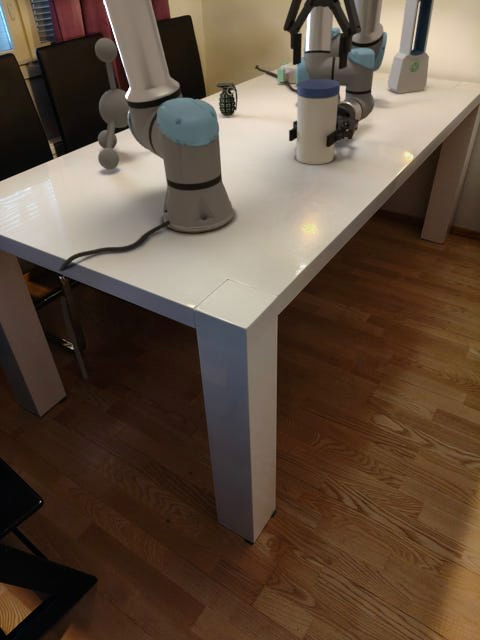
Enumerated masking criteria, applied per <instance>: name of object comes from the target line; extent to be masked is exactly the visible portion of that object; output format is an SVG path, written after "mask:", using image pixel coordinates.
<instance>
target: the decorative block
mask: <svg viewBox="0 0 480 640" xmlns="http://www.w3.org/2000/svg"><path fill="white" fill-rule="evenodd" d="M296 70H297V65H293V61H292V62H287V61H286V62H282V65H281V66H279V68H277V71H276V72H277V73H276V74H277V77H276V78H277V80H276V81H277V82H279V83H284V82H285V81H287V82H288V83H289V84H296V85H297V79H296Z"/></svg>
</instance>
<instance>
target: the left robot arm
mask: <svg viewBox="0 0 480 640" xmlns="http://www.w3.org/2000/svg"><path fill="white" fill-rule="evenodd" d="M302 2H303V0H291V3H290V6H289V9H288V12H287V15H286V17H285V22H284V24H283V31H284V32H288V33H289V34H290V35H289V36H290V49H291V50H292V62H293V65H297V64H300V63H301V58H302V44H303V43H302V40H303V39H302V38H303V33H301V29H302V27H303V25H304V23H306V19H307V17H308V15H309V14H310V12H311V10H312V9H313V8H314V7H319V6H321V7H329V9H330V10H331V11H332V12H333V17H334V18H335V21H336V22H337V24H338V26H339V29H340V31H341V33H343V34H344V36H343V37H341V41H340V56H339V69H343V68H345V67H347V57H348V53H349V52H351V48H352V37H353V35H355V34H357V33H360V32H361V26H360V22H359V18H358V14H357V10H356V6H355V2H354V0H343V4H344V8H345V12H346V13H345V12H344V9H343V7H342V6H341V5H342V3H341V1H340V0H305V2H304V3H303V7H302V9H301V8H300V7H301V4H302ZM152 3H153V2H152V0H103V4H104V6H105V9H106V14H107V17H108V20H109V23H110V26H111V29H112V33H113V36H114V39H115V44H116V47H117V50H118V52H119V55H120V59H121V63H122V65H123V68H124V73H125V75H126V79H127V82H128V85H129V88H128V90H127V91H126V92H127V94H126V100H127V104H128V107H129V111H128V128H129V130H130V133H131V134H132V136H133V138H134V139H135V140H136V142H138V144H139V145H141V147H143V148H144V149H146V150H148V151H149V152H151V153H153V155H156V156H157V157H159V158H160V159H162V160H163V168H164V174H165V180H166V190H165V191H166V192H165V196H164V203H163V207H162V218H163V222H162V223H160V224H159V225H157V226H154V227H153V228H151V229H150V230H148V231H146V232H145V233H144V234H142V235H141V236H140V237H139V238H138V240H136V241H135V242H133V243H131V244H127V245H123V246H106V247H99V248H95V249H91V250H86V251H80V252H77V253H75V254H73V255H71V256H69V257H68V258H67V259H66V260H65V261H64V262H63V263H62V264H61V265H60V268H59V269H58V270H59V272H63V271H65V270H66V269H67V267H68V266H69V265H70V264H71V263H72V262H73V261H75V260H77V259H79V258H82V257H83V258H84V257H86V256H93V255H96V254H101V253H107V252H124V251H129V250H132V249H135V248H137V247H138V246H140V245H141V244H142V243H143V242H144V241H145V240H146V239H147V238H148V237H149V236H151V235H153V234H154V233H156V232H158V231H160V230H161V229H163V228H166V227H168V228H169V229H171V230H173V231H177V232H180V233H190V234H191V233H192V234H193V233H194V234H195V233H196V234H197V233H205V232H206V233H207V232H210V231H215V230H216V229H220V228H222V227H224V226H226V225H227V224H228V223H230V221H231V220H232V218H233V216H234V212H233V211H234V210H233V205H232V201H231V200H230V197H229V195H228V192H227V190H226V187H225V184H224V182H223V175H222V174H223V173H222V161H221V159H222V158H221V147H220V146H221V145H220V124H219V120H218V114H217V111H216V109H215V108H214V106H213V105H212V104H210V103H209V102H207V101H206V100H202V99H199V98H196V99H194V98H191V97H183V94H182V90H181V85H180V83H179V82H178V81H177V80H175V79H174V78H172V77H171V75H170V72H169V67H168V64H167V59H166V56H165V51H164V48H163V44H162V43H163V42H162V39H161V34H160V31H159V28H158V23H157V20H156V19H157V18H156V16H155V12H154V11H155V10H154V7H153V4H152ZM300 9H301V10H300ZM299 11H300V12H299ZM298 13H299V14H298ZM60 302H61V308H62V309H61V310H62V314H63V318H64V323H65V327H66V329H67V332H68V336H69V340H70V342H71V345H72V347H73V350H74V353H75V356H76V358H77V361H78V364H79V367H80V370H81V373H82V374H81V375H82V376H83V380H88V379H89V376H88V373H87V370H86V367H85V363H84V360H83V357H82V355H81V352H80V350H79V346H78V343H77V341H76V338H75V335H74V331H73V329H72V325H71V321H70V317H69V312H68V307H67V300H66V296H63V295H60Z"/></svg>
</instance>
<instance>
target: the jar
mask: <svg viewBox="0 0 480 640" xmlns="http://www.w3.org/2000/svg"><path fill="white" fill-rule="evenodd" d="M297 102H298V104H297V107H296V108H297V110H296V112H297V113H296V114H297V115H296V117H297V118H296V119H297V120H296V121H297V138H296V152H295V153H296V155H295V157H296V158H295V159H296V160H297V162H300V163H303V164H307V165H323V164H327V163H331V162H332V161H333V160H334V157H335V145H336V142H335V143H334V144H333V145H331V146H330V147H326V143H327V136H328V135H329V134H331V133H332V132H334V131H335V130H336V118H337V104H338V94H337V95H335V96H331V97H325V98H308V97H302V96H299V95H298V94H297Z"/></svg>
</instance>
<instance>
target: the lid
mask: <svg viewBox="0 0 480 640" xmlns="http://www.w3.org/2000/svg"><path fill="white" fill-rule="evenodd" d="M296 90H297V93H296V94H297V96H298V95H299V96H302V97H308V98H325V97H331V96H335V95H337V94H339V93H340V92H341V86H340V83H339V82H338V81H335V80H329V79H312V80H305V81H301V82H299V83H297V84H296Z"/></svg>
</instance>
